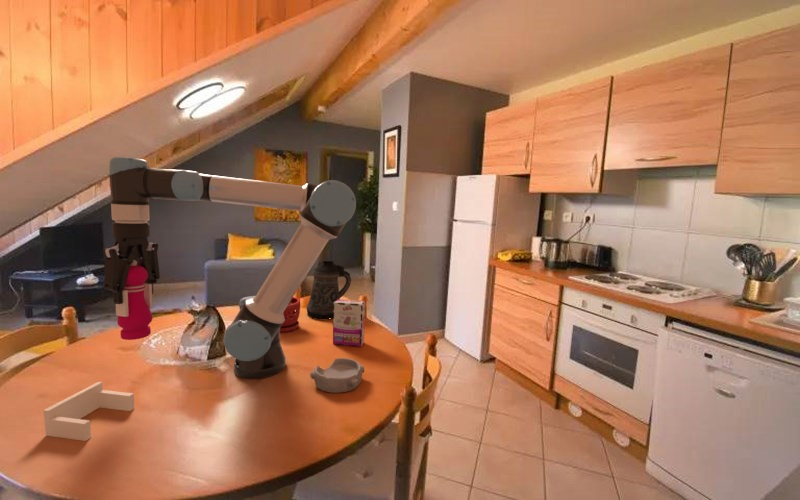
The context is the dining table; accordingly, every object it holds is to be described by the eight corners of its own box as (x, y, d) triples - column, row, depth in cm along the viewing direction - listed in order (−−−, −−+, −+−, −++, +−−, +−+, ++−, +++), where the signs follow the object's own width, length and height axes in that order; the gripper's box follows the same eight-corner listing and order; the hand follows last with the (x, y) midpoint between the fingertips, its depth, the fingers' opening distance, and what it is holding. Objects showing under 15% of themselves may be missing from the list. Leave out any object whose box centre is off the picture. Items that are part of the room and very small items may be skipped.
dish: (305, 388, 103) (305, 372, 102) (330, 368, 115) (330, 353, 115) (350, 400, 98) (350, 383, 97) (371, 377, 111) (371, 362, 110)
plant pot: (276, 321, 155) (276, 294, 154) (304, 324, 153) (305, 297, 152) (260, 332, 142) (260, 303, 141) (291, 335, 141) (291, 306, 139)
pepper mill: (134, 342, 88) (130, 263, 86) (110, 338, 90) (106, 260, 87) (159, 332, 95) (157, 258, 93) (137, 329, 97) (134, 256, 94)
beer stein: (299, 313, 167) (299, 261, 164) (331, 305, 182) (333, 257, 179) (321, 322, 157) (322, 266, 153) (354, 313, 171) (355, 262, 168)
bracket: (134, 408, 89) (133, 385, 88) (85, 441, 77) (83, 415, 76) (99, 404, 90) (98, 381, 89) (45, 435, 78) (43, 410, 77)
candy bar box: (364, 342, 138) (365, 300, 135) (361, 347, 133) (362, 304, 130) (336, 339, 139) (337, 298, 137) (332, 344, 134) (333, 302, 132)
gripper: (150, 219, 99) (153, 300, 102) (77, 222, 80) (84, 322, 83) (174, 221, 98) (176, 302, 101) (107, 224, 79) (112, 325, 82)
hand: (135, 311), depth 92 cm, fingers closed on pepper mill, 6 cm apart
